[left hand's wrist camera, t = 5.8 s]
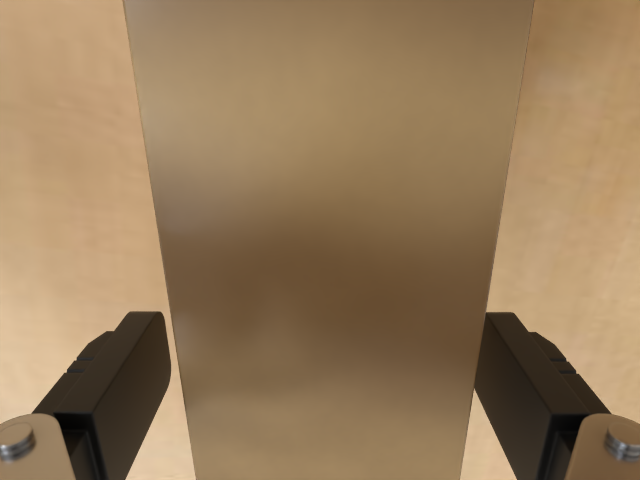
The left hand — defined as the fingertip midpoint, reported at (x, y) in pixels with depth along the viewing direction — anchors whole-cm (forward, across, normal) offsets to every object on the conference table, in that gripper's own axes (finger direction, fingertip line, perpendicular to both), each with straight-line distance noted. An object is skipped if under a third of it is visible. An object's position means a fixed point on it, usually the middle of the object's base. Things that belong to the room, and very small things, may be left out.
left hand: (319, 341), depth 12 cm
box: (+7, 0, -7) cm, 10 cm away
